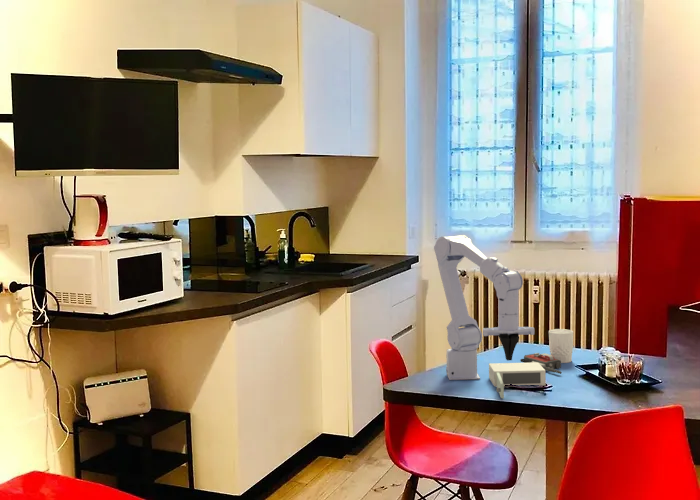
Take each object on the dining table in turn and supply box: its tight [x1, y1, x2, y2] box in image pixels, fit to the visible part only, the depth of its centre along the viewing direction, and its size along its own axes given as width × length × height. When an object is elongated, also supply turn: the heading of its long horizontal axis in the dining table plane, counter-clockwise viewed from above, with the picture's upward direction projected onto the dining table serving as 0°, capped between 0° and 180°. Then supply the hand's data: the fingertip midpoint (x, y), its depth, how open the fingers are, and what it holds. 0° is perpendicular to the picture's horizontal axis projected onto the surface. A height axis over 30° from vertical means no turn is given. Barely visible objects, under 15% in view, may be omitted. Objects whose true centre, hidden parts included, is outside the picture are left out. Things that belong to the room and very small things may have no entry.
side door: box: [496, 373, 505, 399], centre depth 217 cm, size 13×2×4 cm, turn 174°
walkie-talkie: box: [520, 352, 562, 375], centre depth 244 cm, size 9×4×20 cm
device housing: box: [488, 362, 547, 387], centre depth 229 cm, size 15×10×4 cm
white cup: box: [548, 328, 574, 364], centre depth 253 cm, size 8×8×10 cm
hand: (508, 359), depth 220 cm, fingers closed
